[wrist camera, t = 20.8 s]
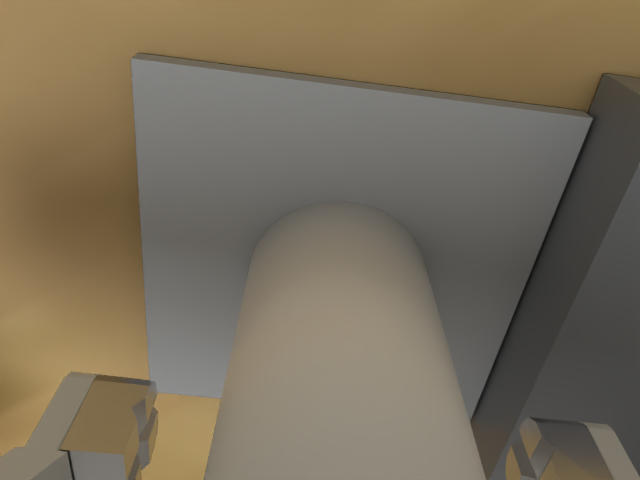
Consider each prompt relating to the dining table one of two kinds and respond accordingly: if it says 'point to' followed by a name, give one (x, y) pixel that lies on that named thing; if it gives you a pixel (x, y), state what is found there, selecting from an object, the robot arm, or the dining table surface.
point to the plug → (340, 359)
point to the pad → (334, 197)
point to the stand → (578, 299)
